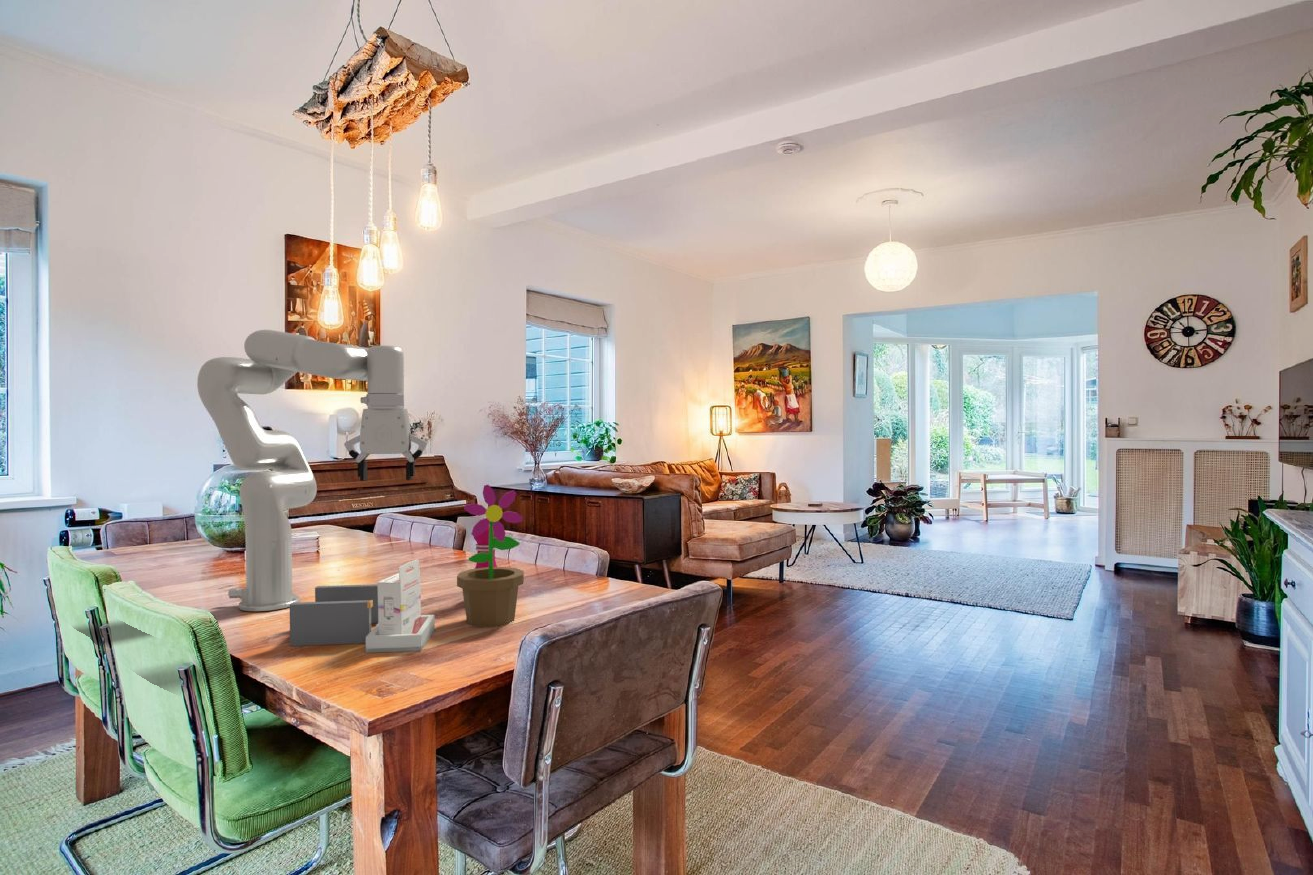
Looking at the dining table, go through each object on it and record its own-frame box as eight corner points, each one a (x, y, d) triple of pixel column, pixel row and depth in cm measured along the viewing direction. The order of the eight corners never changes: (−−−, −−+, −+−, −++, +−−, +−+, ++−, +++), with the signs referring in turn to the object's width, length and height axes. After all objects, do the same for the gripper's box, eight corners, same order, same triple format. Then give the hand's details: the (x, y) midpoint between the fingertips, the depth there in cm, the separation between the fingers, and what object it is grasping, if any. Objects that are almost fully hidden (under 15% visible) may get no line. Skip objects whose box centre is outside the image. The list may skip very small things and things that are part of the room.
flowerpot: (462, 633, 143) (461, 486, 143) (452, 615, 156) (451, 481, 156) (531, 625, 149) (531, 484, 148) (516, 608, 162) (516, 479, 161)
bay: (290, 646, 135) (289, 604, 135) (318, 623, 151) (317, 585, 150) (370, 642, 137) (370, 602, 137) (390, 620, 153) (390, 583, 152)
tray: (365, 652, 131) (365, 637, 131) (384, 630, 145) (384, 616, 145) (421, 650, 132) (421, 634, 132) (434, 629, 146) (434, 614, 146)
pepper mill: (507, 597, 172) (507, 516, 172) (486, 604, 166) (485, 520, 166) (486, 594, 176) (486, 514, 176) (464, 600, 170) (464, 517, 170)
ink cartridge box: (398, 629, 143) (398, 557, 143) (421, 630, 143) (421, 558, 142) (376, 642, 135) (376, 566, 134) (401, 643, 134) (400, 566, 134)
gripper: (339, 401, 150) (340, 482, 150) (423, 402, 152) (423, 481, 152) (349, 402, 157) (350, 479, 157) (429, 403, 159) (430, 478, 160)
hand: (386, 480), depth 155 cm, fingers open, 9 cm apart
